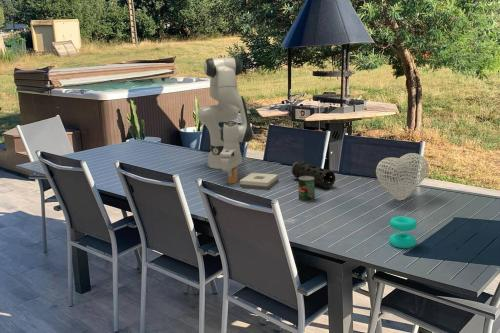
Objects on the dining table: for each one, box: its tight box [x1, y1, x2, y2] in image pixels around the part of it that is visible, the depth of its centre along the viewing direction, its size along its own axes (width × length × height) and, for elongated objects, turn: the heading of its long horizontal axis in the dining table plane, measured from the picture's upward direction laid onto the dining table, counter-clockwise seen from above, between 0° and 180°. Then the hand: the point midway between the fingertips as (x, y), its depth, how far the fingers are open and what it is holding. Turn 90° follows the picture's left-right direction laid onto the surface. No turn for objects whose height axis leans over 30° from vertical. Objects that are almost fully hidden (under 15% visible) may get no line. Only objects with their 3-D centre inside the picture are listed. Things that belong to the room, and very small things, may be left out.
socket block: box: [239, 172, 279, 191], centre depth 287 cm, size 17×16×4 cm
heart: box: [375, 152, 430, 202], centre depth 250 cm, size 28×16×22 cm, turn 122°
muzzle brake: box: [290, 161, 336, 190], centre depth 285 cm, size 10×28×10 cm, turn 32°
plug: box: [227, 167, 239, 184], centre depth 292 cm, size 4×4×10 cm
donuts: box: [388, 215, 418, 249], centre depth 199 cm, size 10×10×10 cm
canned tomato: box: [297, 176, 316, 203], centre depth 258 cm, size 8×8×11 cm
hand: (232, 175), depth 292 cm, fingers open, 4 cm apart
